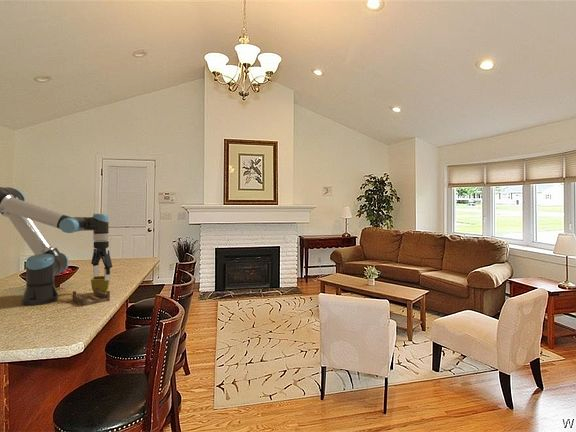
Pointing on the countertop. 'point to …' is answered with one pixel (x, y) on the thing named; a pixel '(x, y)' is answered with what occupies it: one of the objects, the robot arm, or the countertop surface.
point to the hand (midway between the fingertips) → (101, 278)
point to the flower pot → (99, 283)
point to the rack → (92, 297)
